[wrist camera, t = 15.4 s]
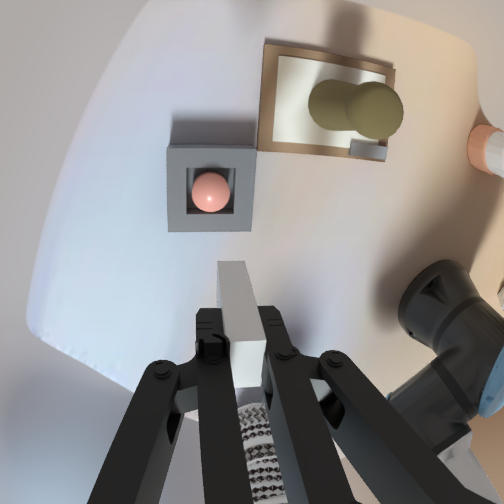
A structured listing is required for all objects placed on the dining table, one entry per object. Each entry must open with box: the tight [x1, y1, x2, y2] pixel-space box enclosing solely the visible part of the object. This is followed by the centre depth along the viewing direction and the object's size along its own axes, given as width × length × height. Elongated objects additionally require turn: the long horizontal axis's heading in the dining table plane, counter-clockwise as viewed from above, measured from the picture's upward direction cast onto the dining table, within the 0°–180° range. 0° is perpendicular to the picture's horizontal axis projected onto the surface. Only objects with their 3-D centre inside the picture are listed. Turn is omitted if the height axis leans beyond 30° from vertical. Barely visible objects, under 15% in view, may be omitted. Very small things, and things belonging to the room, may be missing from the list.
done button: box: [192, 170, 230, 212], centre depth 33 cm, size 4×4×2 cm
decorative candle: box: [238, 403, 288, 504], centre depth 45 cm, size 9×9×25 cm
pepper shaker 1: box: [308, 79, 404, 140], centre depth 28 cm, size 6×6×11 cm
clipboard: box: [256, 44, 396, 162], centre depth 33 cm, size 16×12×1 cm
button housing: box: [167, 144, 257, 232], centre depth 34 cm, size 9×9×3 cm
